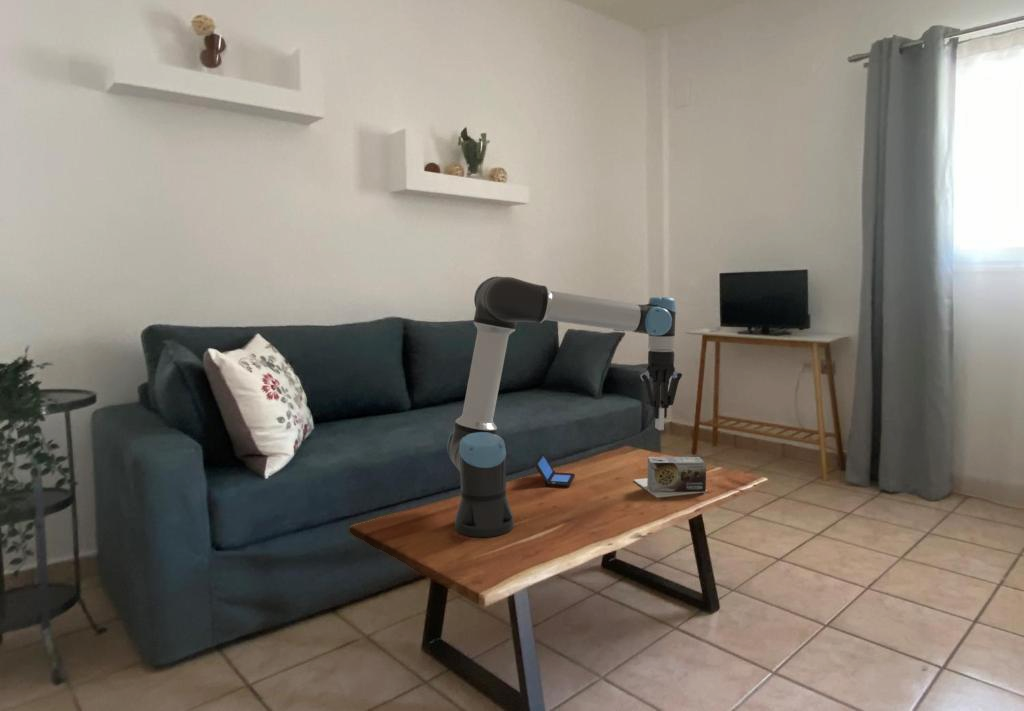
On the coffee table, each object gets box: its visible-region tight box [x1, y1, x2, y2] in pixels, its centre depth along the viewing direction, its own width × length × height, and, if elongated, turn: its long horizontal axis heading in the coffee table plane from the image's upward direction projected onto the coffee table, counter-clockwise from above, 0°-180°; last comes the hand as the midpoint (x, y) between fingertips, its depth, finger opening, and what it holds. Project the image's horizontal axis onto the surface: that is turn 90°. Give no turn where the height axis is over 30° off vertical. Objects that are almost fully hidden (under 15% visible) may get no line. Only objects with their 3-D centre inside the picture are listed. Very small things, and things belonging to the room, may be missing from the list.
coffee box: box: [647, 456, 707, 493], centre depth 197 cm, size 9×6×16 cm
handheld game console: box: [534, 453, 576, 489], centre depth 209 cm, size 12×11×7 cm
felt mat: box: [633, 477, 708, 499], centre depth 201 cm, size 16×16×1 cm
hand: (659, 428), depth 198 cm, fingers closed
